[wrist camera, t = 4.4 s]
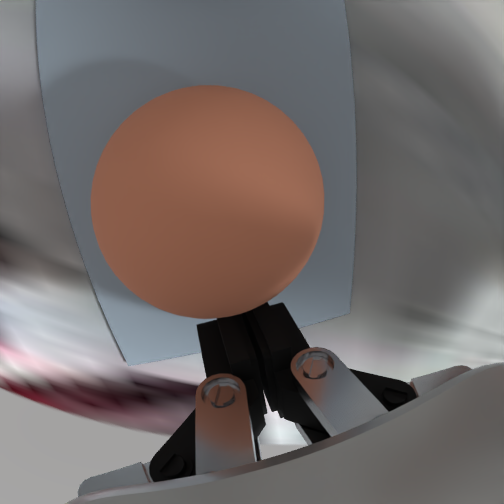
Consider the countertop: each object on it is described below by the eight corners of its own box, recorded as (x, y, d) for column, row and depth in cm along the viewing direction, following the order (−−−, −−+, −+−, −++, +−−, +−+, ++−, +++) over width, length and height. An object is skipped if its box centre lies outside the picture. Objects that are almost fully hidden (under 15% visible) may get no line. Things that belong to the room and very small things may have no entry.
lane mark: (301, -157, 4) (302, -159, 4) (348, 310, 16) (349, 313, 15) (58, -138, 2) (57, -140, 2) (128, 362, 14) (128, 366, 14)
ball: (309, 239, 12) (273, 80, 10) (375, 328, 7) (327, 32, 4) (159, 278, 12) (108, 129, 10) (120, 388, 7) (9, 137, 4)
